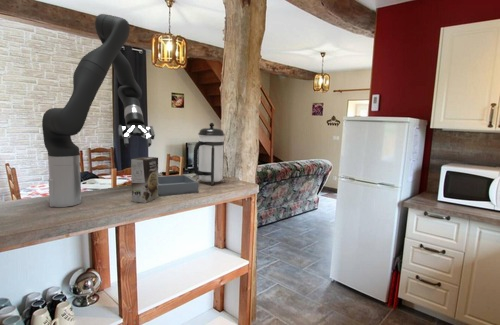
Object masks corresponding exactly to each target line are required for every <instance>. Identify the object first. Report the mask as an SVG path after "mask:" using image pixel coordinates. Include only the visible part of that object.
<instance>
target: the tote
mask: <svg viewBox="0 0 500 325" xmlns="http://www.w3.org/2000/svg"><path fill="white" fill-rule="evenodd" d="M198 182H199V181H198V180H197V181H196V179H193V178H191V177H190V176H188V175H187V174H178V175H176V174H175V175H165V176H164V175H163V176H162V175H160V176H159V175H158V197H165V196H177V195H188V194H198V193H199V183H198Z"/></svg>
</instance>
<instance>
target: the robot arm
mask: <svg viewBox="0 0 500 325" xmlns="http://www.w3.org/2000/svg"><path fill="white" fill-rule="evenodd" d="M94 22H95V23H94V27H95V28H94V29H95V31H96V34H97V36H98V38H99V41H100V42H101V45H100V46H98V47H96V48H95V49H94V48H93V49H92V50H90V51H89V52H88V53H86V54H84V55H83V57H82V58H81V59H80V61H79V62H78V64H77V66H76V68H75V70H74V72H73V78H72V84H73V86H72V87H73V89H72V90H73V91H72V93H71V96H70V97H69V99H68V101H67V102H66V104H65V106H64V107H53V108H52V107H51V108H49V109H47V110H46V111H44V114H43V116H42V120H41V121H42V123H41V126H42V127H41V128H42V136H43V137H42V138H43V143H44V147H45V148H46V151H47V159H48V160H47V161H48V193H49V195H48V196H49V198H48V199H49V207H50V208H51V207H52V208H53V207H56V208H64V207H72V206H76V205H77V206H78V205H79V204H81V203H82V182H81V179H82V178H81V162H80V161H81V160H80V159H81V158H80V155H81V154H80V147H79V146H77V145H76V144H75V143H74V142H73V141H72V136H75V135H77V134H79V133H80V132H81V131H82V129H83V127H84V126H85V123H86V120H87V117H88V115H89V111H90V109H91V106H92V105H93V102H94V100H95V97H96V96H97V94H98V92H99V90H100V88H101V86H102V85H103V82H104V80H105V79H106V77H107V74H108V72H109V70H110V68H111V66H113V69H114V72H115V75H116V79H117V81H118V83H119V84H120V85H121V86H119V87H118V88H117V94H118V97H119V99H120V100H121V102H122V104H123V110H124V121H125V126H123V125H122V124H119V125H118V140H123V144H124V146H125V147H127V148H129V145H130V144H129V139H130V138H131V136H132V137H142V138H144V139H146V144H147V147H148V148H149V147H151V146H152V144H153V142H152V140H155V136H156V134H155V131H154V126H153V125H149V126H146V125H145V121H144V115H143V110H142V107H141V102H140V99H141V98H142V96H143V90H142V88H141V87H140V85H139V84H138V81H136V79H135V76H134V71H133V68H132V66H131V63H130V62H129V60H128V59H127V58H126V56H125V55H124V54H123V53H122V51H121V49H123V47H124V46H125V44H126V42H127V40H129V39H128V38H129V36H130V30H131V29H130V28H131V27H130V26H131V25H130V24H129V21H128V20H127V19H126V18H123V17H119V16H116V15H111V14H107V13H99V14H98V15H97V16H96V18H95V20H94ZM124 131H126V132H125V133H124V134H123V132H124Z"/></svg>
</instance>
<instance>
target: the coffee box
mask: <svg viewBox="0 0 500 325" xmlns="http://www.w3.org/2000/svg"><path fill="white" fill-rule="evenodd" d="M130 160H131V161H130V162H131V163H130V164H131V166H130V170H131V171H130V176H131V177H130V178H131V180H130V182H131V183H130V184H131V190H130V191H131V202H132V203H134V202H135V203H144V204H147V203H149V202H151V201H153V200H155V199H157V198H159V196H158V176H159V157H154V156H142V157H136V158H131V159H130Z"/></svg>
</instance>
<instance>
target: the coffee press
mask: <svg viewBox="0 0 500 325" xmlns="http://www.w3.org/2000/svg"><path fill="white" fill-rule="evenodd" d="M214 126H215V123H213V122H210V123H209V127H203V128H201V129H200V130H199V132H198V134H197V135H198V142H196V144H195V145H194V148H193V158H192V160H193V165H192V166H193V172H194V174H195V175H197V178H196V179H195V181H197V182H198V184H199V183H200V182H206V183H210V186H215V183H216V182H217V183H218V182H222V183H226V180H225V178H224V164H225V163H224V162H225V161H224V160H225V159H224V157H225V153H224V152H225V140H224V139H225V138H224V137H225V133H224V130H223V129H221V128H216V127H215V128H214ZM198 179H199V181H198ZM222 180H224V181H222Z"/></svg>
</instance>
